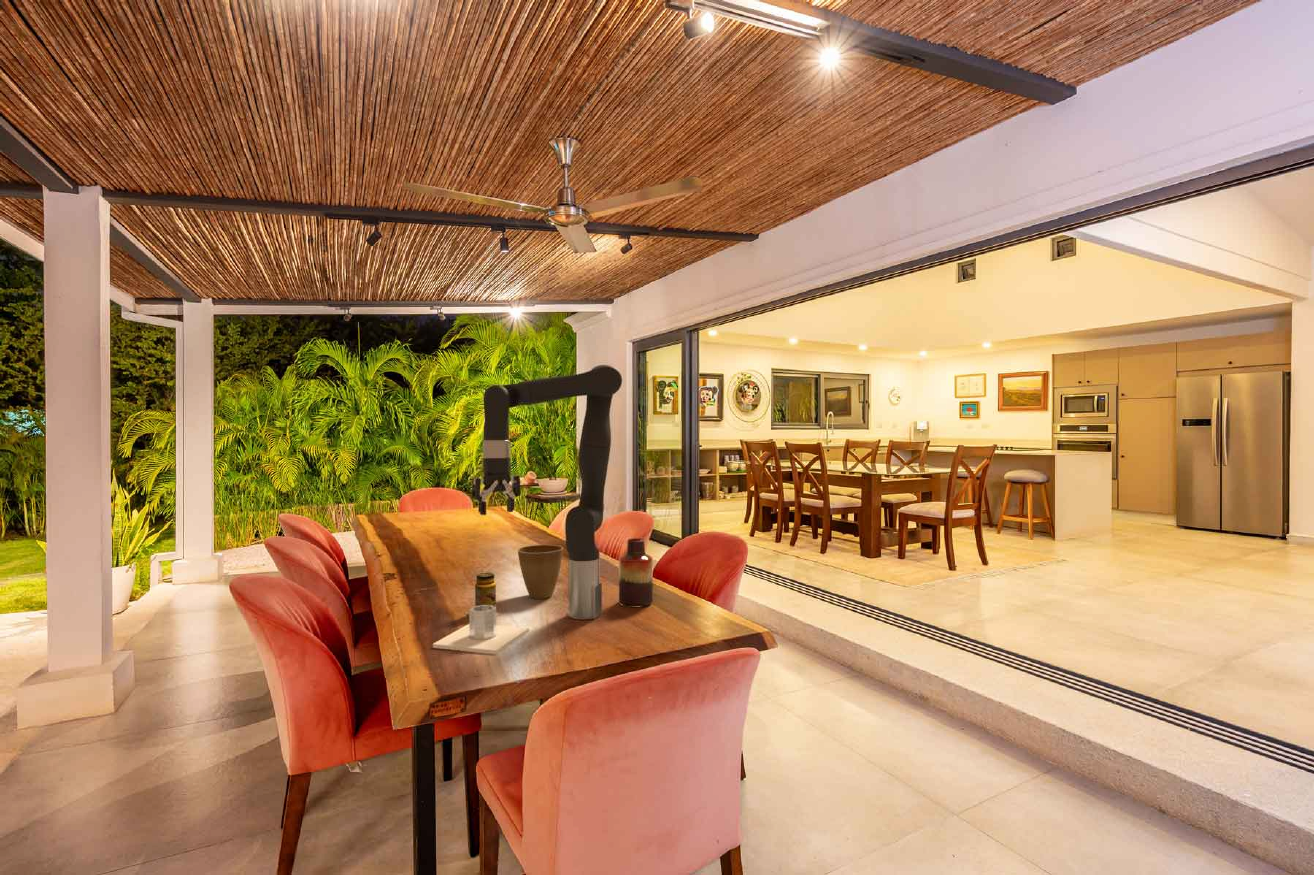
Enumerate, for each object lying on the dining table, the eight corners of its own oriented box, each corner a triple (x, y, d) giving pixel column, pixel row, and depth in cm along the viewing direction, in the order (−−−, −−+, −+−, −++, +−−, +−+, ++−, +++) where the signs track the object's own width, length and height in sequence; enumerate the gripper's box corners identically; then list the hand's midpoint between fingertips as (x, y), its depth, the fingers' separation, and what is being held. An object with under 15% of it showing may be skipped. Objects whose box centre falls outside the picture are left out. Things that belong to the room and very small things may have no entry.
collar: (487, 629, 172) (487, 603, 172) (500, 634, 168) (499, 608, 167) (466, 634, 168) (465, 608, 167) (478, 640, 163) (478, 613, 163)
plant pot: (569, 591, 216) (569, 545, 215) (552, 603, 201) (552, 553, 201) (529, 589, 219) (529, 543, 219) (509, 600, 205) (509, 551, 204)
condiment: (500, 615, 189) (500, 575, 189) (472, 619, 185) (472, 579, 184) (492, 609, 195) (492, 570, 195) (464, 613, 191) (464, 574, 190)
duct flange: (529, 631, 174) (529, 610, 174) (495, 654, 157) (495, 630, 156) (471, 626, 179) (471, 605, 179) (432, 647, 161) (432, 624, 161)
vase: (659, 601, 204) (659, 538, 204) (640, 609, 195) (640, 544, 194) (631, 596, 210) (631, 535, 209) (612, 604, 201) (612, 540, 200)
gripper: (511, 454, 185) (511, 509, 186) (466, 456, 175) (467, 514, 176) (525, 455, 180) (525, 512, 180) (480, 457, 170) (480, 517, 170)
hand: (496, 513), depth 178 cm, fingers open, 8 cm apart
